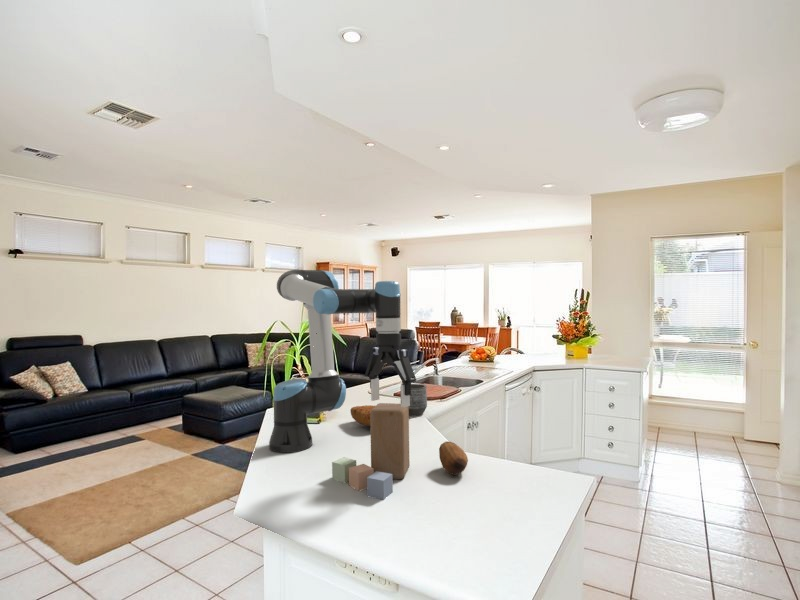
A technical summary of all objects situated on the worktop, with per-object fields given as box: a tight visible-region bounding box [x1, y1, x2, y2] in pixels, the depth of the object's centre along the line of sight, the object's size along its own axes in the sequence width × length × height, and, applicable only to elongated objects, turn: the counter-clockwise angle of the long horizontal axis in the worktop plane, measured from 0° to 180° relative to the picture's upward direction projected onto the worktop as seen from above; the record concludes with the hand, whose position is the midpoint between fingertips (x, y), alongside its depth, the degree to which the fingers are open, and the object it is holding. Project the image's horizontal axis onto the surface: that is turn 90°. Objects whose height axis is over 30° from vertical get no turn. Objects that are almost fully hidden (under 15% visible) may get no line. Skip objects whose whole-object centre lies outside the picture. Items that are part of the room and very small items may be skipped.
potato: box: [438, 441, 469, 476], centre depth 134 cm, size 8×14×8 cm
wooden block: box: [369, 402, 411, 480], centre depth 134 cm, size 10×10×20 cm
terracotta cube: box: [348, 463, 374, 492], centre depth 125 cm, size 5×5×5 cm
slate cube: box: [366, 471, 394, 501], centre depth 119 cm, size 5×5×5 cm
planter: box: [408, 383, 428, 417], centre depth 205 cm, size 12×12×13 cm
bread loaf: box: [350, 404, 376, 427], centre depth 187 cm, size 22×17×8 cm
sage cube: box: [331, 456, 357, 483], centre depth 130 cm, size 5×5×5 cm
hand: (390, 403), depth 134 cm, fingers open, 13 cm apart
